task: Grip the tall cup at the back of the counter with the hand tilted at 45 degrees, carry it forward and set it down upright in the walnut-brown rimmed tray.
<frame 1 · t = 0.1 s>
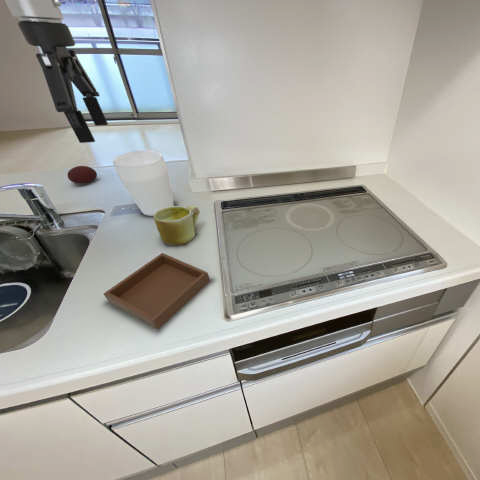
hand: (95, 133, 64), 26 cm above the worktop, tool pointing down, fingers open, 13 cm apart
tray: (162, 291, 59), on the worktop
mug: (185, 234, 76), on the worktop
dark red rounded lump: (86, 182, 96), on the worktop
cup: (158, 208, 86), on the worktop
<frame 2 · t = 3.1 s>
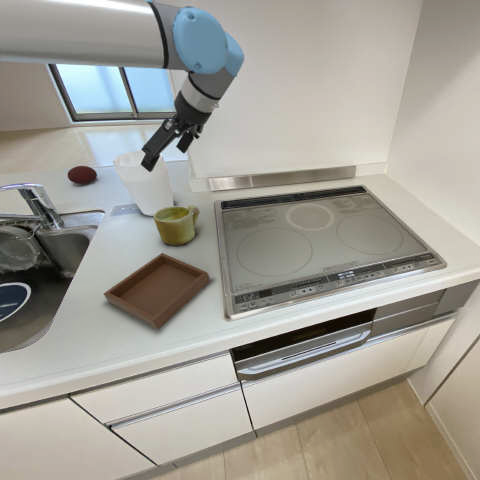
hand: (164, 158, 71), 19 cm above the worktop, tool tilted 45°, fingers open, 13 cm apart
nothing on the worktop moved.
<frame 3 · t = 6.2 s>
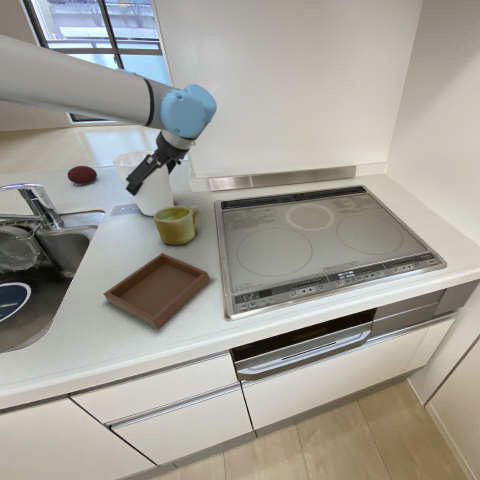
hand: (148, 181, 79), 10 cm above the worktop, tool tilted 45°, fingers open, 13 cm apart
cup: (158, 208, 86), on the worktop, touching gripper
everything else where it was.
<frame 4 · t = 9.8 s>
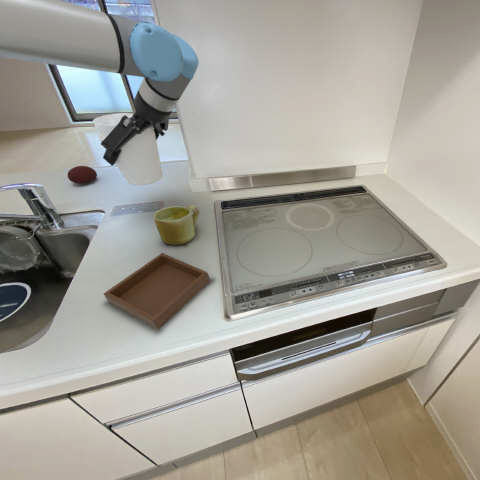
hand: (129, 152, 74), 18 cm above the worktop, tool tilted 45°, fingers closed on cup, 13 cm apart
cup: (145, 179, 79), point 10 cm above the worktop, touching gripper
everything else where it was.
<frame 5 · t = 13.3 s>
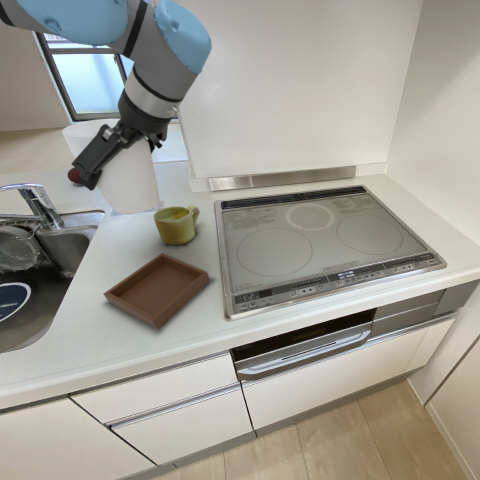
hand: (115, 171, 56), 22 cm above the worktop, tool tilted 45°, fingers closed on cup, 13 cm apart
cup: (138, 204, 60), point 15 cm above the worktop, touching gripper
everything else where it was.
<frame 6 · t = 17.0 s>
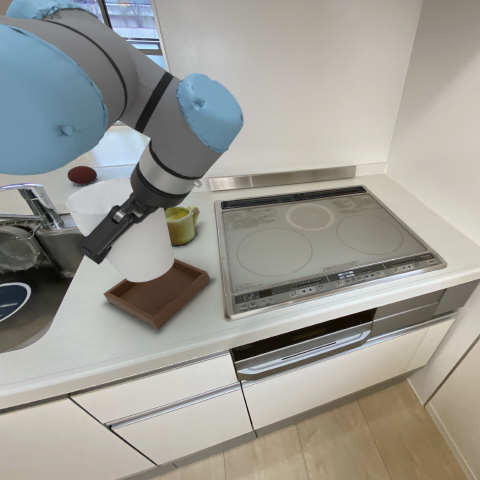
hand: (125, 235, 50), 16 cm above the worktop, tool tilted 45°, fingers closed on cup, 13 cm apart
cup: (150, 266, 54), point 8 cm above the worktop, touching gripper
everything else where it was.
when the fingers open (8 cm above the worktop, at t = 19.8 s): cup stays where it is, resting on tray.
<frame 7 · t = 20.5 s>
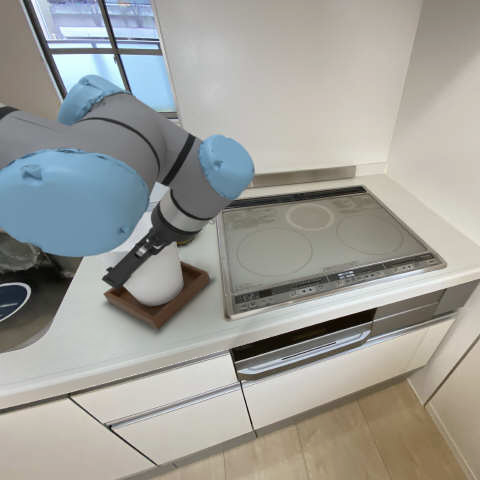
hand: (140, 260, 54), 9 cm above the worktop, tool tilted 45°, fingers open, 13 cm apart
cup: (161, 290, 59), resting on tray
everything else where it was.
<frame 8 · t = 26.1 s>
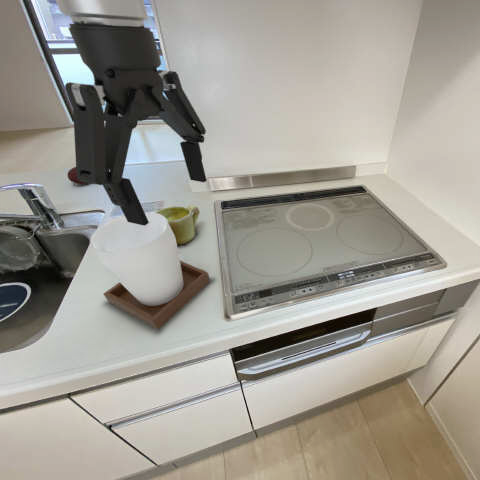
hand: (172, 198, 41), 27 cm above the worktop, tool pointing down, fingers open, 13 cm apart
nothing on the worktop moved.
at the end: cup inside the target area in the tray (0.1 cm from its centre), point 0.4 cm above the tray's base; cup tilted 0°; the gripper is holding nothing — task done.
